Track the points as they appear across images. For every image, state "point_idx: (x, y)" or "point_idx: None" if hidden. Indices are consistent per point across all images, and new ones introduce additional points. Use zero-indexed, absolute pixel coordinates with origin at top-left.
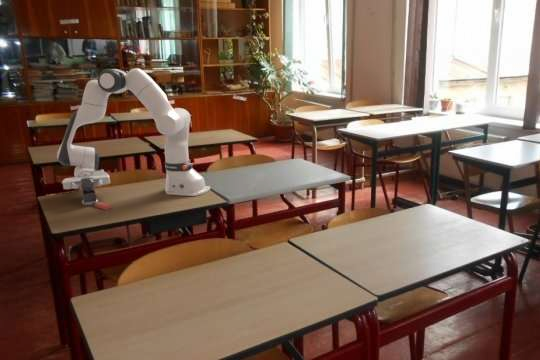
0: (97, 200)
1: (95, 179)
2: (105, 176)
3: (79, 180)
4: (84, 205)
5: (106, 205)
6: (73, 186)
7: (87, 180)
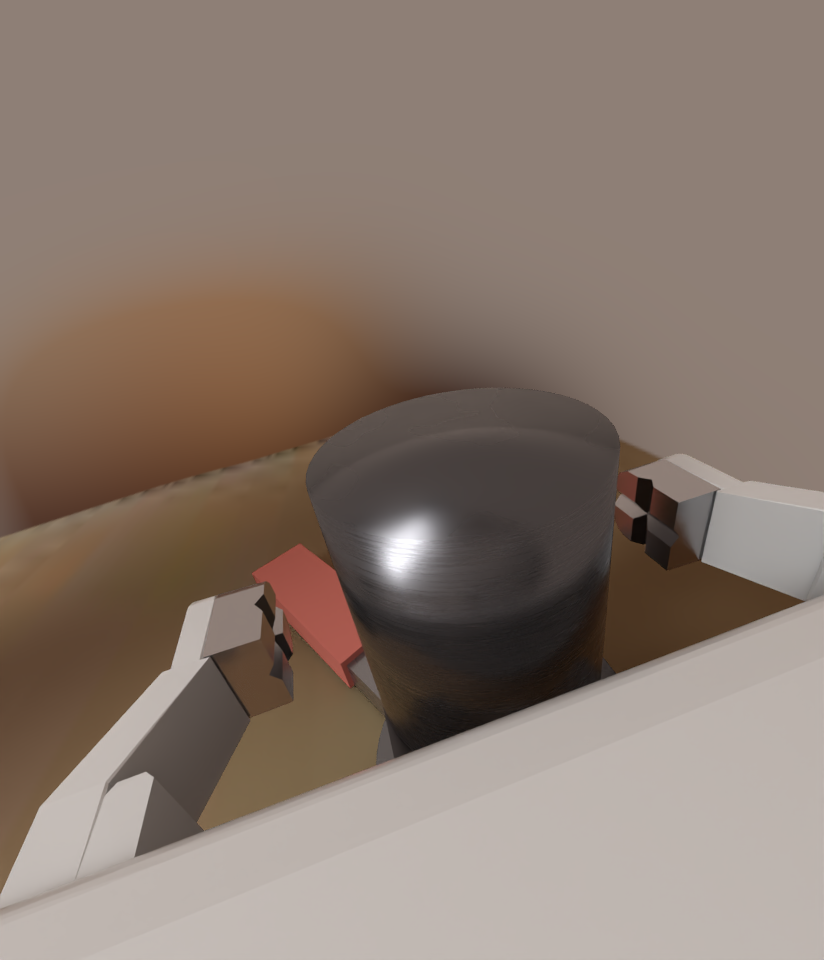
0: (382, 731)
1: (260, 822)
2: None
3: (822, 599)
4: None
5: (291, 564)
6: (785, 534)
7: (415, 400)
